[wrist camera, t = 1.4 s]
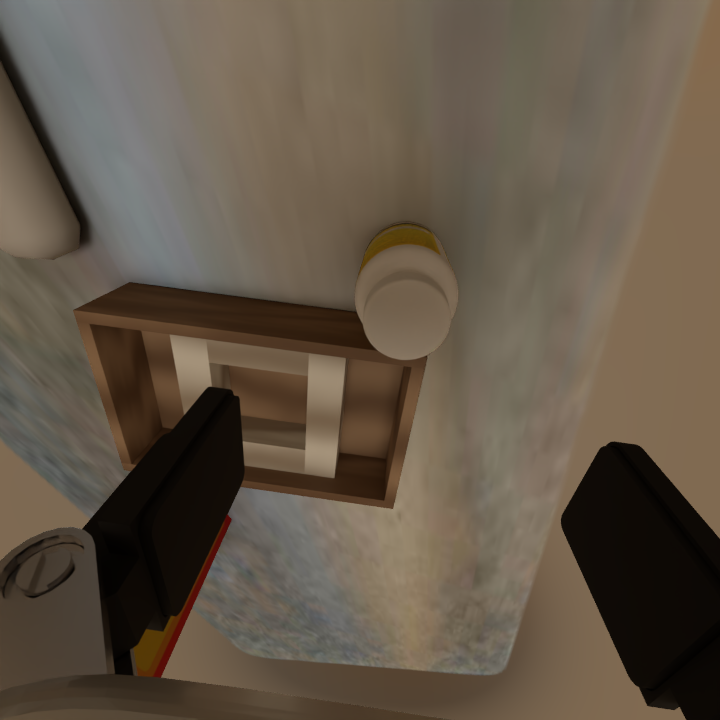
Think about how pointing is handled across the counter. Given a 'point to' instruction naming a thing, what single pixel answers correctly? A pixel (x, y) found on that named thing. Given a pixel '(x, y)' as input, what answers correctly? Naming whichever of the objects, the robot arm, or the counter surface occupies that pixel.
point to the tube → (30, 188)
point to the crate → (257, 386)
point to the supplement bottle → (406, 292)
